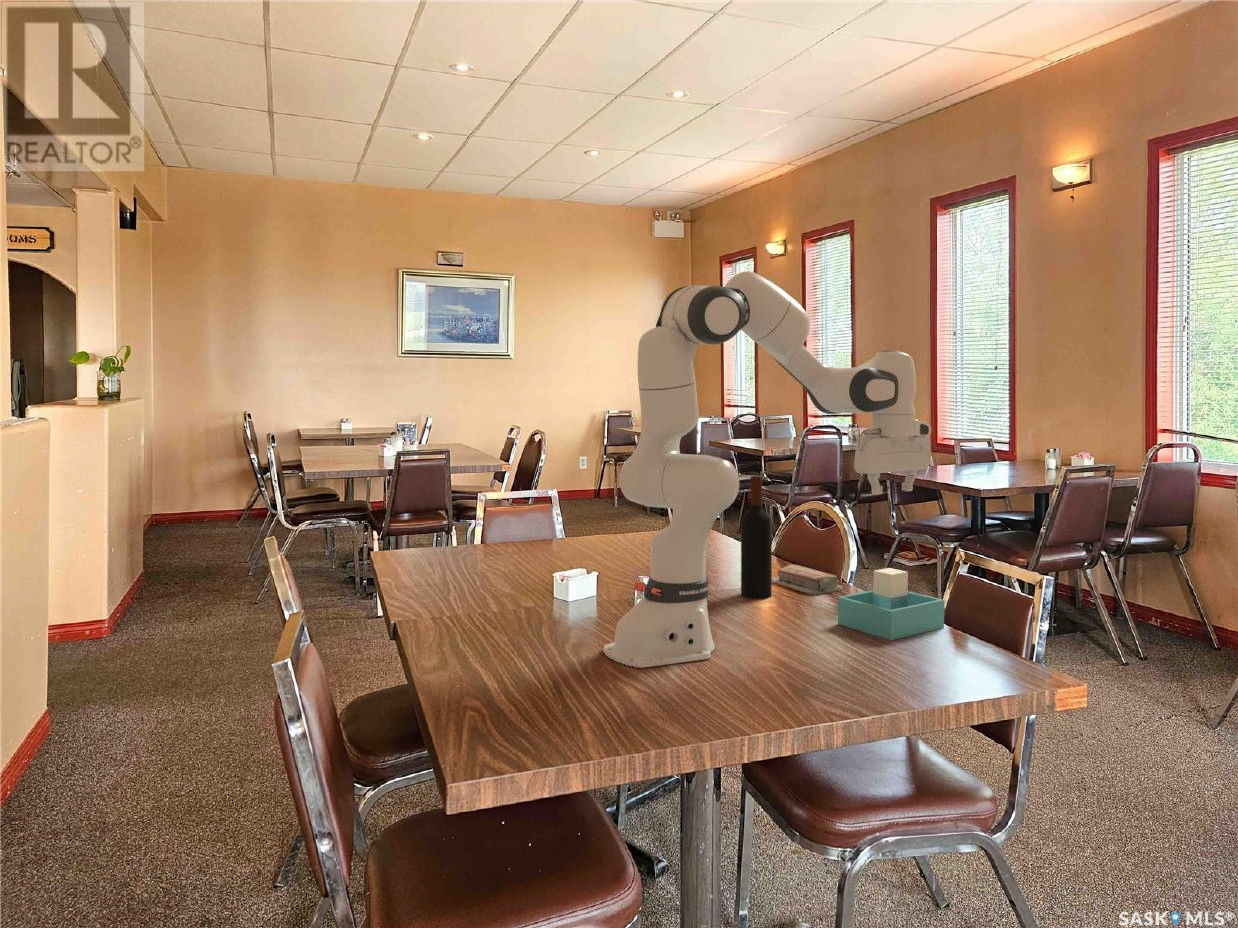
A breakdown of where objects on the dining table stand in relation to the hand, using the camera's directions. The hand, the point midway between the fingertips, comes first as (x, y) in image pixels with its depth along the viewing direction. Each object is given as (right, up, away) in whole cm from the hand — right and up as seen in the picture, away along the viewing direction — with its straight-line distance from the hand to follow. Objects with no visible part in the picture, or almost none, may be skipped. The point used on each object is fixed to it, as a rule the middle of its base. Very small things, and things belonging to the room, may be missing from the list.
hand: (892, 492), depth 179 cm
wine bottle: (-24, -27, +31) cm, 48 cm away
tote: (0, -29, +2) cm, 29 cm away
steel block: (0, -28, +2) cm, 28 cm away
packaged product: (-10, -27, +41) cm, 49 cm away
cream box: (0, -22, +2) cm, 22 cm away
